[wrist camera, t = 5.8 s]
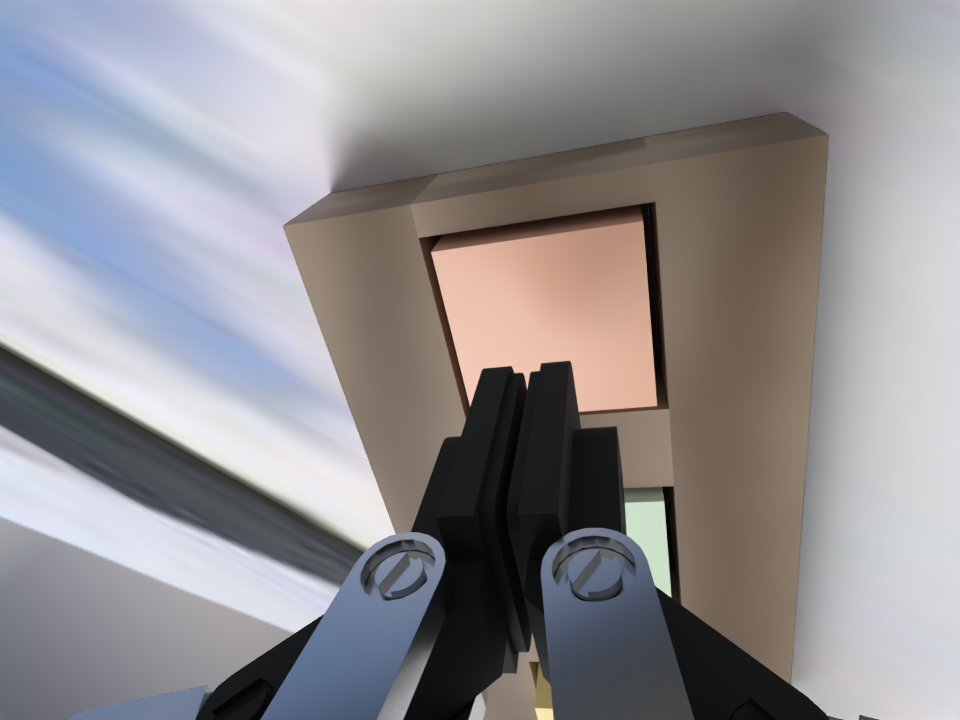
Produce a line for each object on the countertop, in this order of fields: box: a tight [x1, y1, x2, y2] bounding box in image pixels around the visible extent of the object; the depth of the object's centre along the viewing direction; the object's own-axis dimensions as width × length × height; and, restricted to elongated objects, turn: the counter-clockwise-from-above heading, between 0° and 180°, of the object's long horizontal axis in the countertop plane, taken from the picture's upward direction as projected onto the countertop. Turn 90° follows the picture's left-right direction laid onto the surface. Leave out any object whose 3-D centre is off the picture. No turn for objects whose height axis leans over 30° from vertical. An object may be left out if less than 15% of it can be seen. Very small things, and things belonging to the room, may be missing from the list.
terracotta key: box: [431, 204, 657, 412], centre depth 16 cm, size 5×5×3 cm
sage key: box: [624, 487, 671, 597], centre depth 19 cm, size 5×5×3 cm
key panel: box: [283, 112, 829, 720], centre depth 20 cm, size 12×23×3 cm, turn 12°
